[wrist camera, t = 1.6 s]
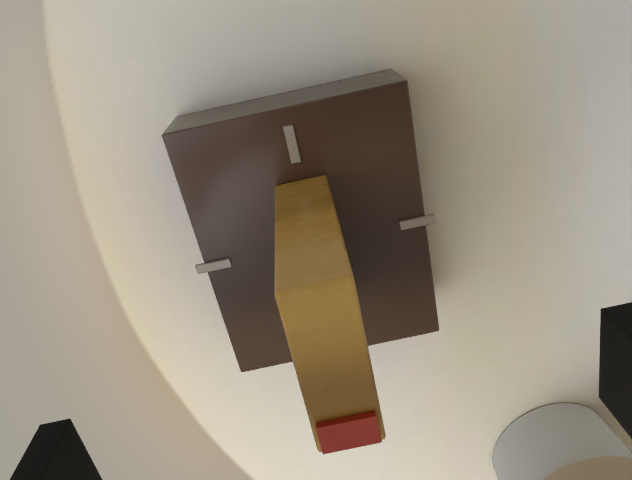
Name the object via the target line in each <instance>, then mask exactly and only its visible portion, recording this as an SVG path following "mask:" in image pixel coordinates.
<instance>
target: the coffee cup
mask: <svg viewBox="0 0 632 480" xmlns="http://www.w3.org/2000/svg"><path fill="white" fill-rule="evenodd" d="M493 466H494V469H495V472H496V475H497V477H498V480H632V451H631V450H630V449H629V448H628V447H627V446H626V445H625V444H624V442H623V441H622V440H621V439H620V438H619V437H618V436H617V435H616V433H615V432H614V431H613V430H612V429H611V428H610V427H609V426H608V425H607V423H606V422H605V421H604V420H603V419H602V418H601V417H600V416H599V415H598V414H597V413H596V412H595V411H593V410H592V409H590V408H588V407H586V406H583V405H579V404H573V403H558V404H551V405H547V406H543V407H540V408H537V409H535V410H532V411H530V412H528V413H526V414H524V415H523V416H521V417H520V418H518V419H517V420H515V421H514V422H513V423H512V424H511V425H510V426H509V427H508V428H507V429H506V430H505V431H504V432H503V433H502V435H501V436H500V438H499V439H498V441H497V443H496V445H495V448H494V452H493Z"/></svg>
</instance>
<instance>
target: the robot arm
mask: <svg viewBox="0 0 632 480" xmlns="http://www.w3.org/2000/svg"><path fill="white" fill-rule="evenodd" d="M599 398H600V399H601V400H602V402H603V403H604V404H605V405H606V407H607V408H608V409H609V411H610V412H611V413H612V414H613V416H614V417H615V418H616V419H617V421H618V422H619V423H620V424H621V426H622V427H623V428H624V429H625V431H626V432H627V433H628V435H629V436H630V437H631V438H632V302H631V303H627V304H622V305H617V306H612V307H607V308H602V309H601V325H600V368H599ZM10 480H102V478H101V476H100V475H99V473H98V471H97V469H96V467H95V465H94V463H93V461H92V459H91V457H90V455H89V454H88V452H87V450H86V448H85V446H84V444H83V442H82V440H81V438H80V436H79V435H78V433H77V431H76V429H75V427H74V425H73V423H72V421H71V419H66V420H61V421H57V422H52V423H47V424H42V425H40V426H39V428H38V430H37V432H36V433H35V435H34V437H33V439H32V441H31V443H30V444H29V446H28V448H27V450H26V451H25V453H24V455H23V457H22V459H21V460H20V462H19V464H18V466H17V468H16V469H15V471H14V473H13V475H12V477H11V479H10Z"/></svg>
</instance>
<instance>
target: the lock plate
mask: <svg viewBox="0 0 632 480" xmlns="http://www.w3.org/2000/svg"><path fill="white" fill-rule="evenodd" d="M162 137H163V140H164V143H165V146H166V149H167V152H168V155H169V158H170V161H171V164H172V167H173V170H174V173H175V176H176V179H177V182H178V185H179V188H180V191H181V194H182V197H183V200H184V203H185V206H186V209H187V212H188V215H189V218H190V221H191V224H192V227H193V230H194V233H195V236H196V239H197V242H198V245H199V248H200V251H201V254H202V257H203V260H204V262H205V263H202V264H197V265H196V266H195V267H196V270H197V273H198V274H200V273H205V272H208V274H209V277H210V280H211V283H212V286H213V289H214V292H215V295H216V298H217V301H218V304H219V307H220V310H221V313H222V316H223V319H224V322H225V325H226V328H227V331H228V334H229V337H230V340H231V343H232V346H233V349H234V352H235V355H236V358H237V361H238V364H239V367H240V370H241V372H245V371H250V370H255V369H259V368H264V367H269V366H274V365H278V364H283V363H288V362H293V359H292V356H291V352H290V349H289V345H288V342H287V338H286V334H285V331H284V327H283V324H282V320H281V316H280V313H279V309H278V306H277V302H276V299H275V295H274V285H275V186H277V185H282V184H286V183H291V182H295V181H300V180H304V179H309V178H314V177H318V176H323V175H325V176H326V177H327V180H328V183H329V187H330V191H331V194H332V198H333V202H334V206H335V209H336V213H337V217H338V220H339V224H340V228H341V232H342V235H343V239H344V243H345V246H346V250H347V254H348V258H349V261H350V265H351V269H352V272H353V276H354V281H355V286H356V290H357V295H358V300H359V305H360V310H361V315H362V320H363V325H364V330H365V335H366V340H367V345H368V346H369V345H374V344H378V343H383V342H388V341H393V340H398V339H402V338H407V337H412V336H417V335H421V334H426V333H431V332H436V331H439V324H438V316H437V309H436V301H435V293H434V285H433V277H432V270H431V262H430V254H429V246H428V238H427V230H426V225H428V224H433V223H435V215H434V214H429V215H424V207H423V199H422V191H421V184H420V176H419V168H418V160H417V152H416V145H415V137H414V129H413V121H412V113H411V106H410V98H409V90H408V82H407V80H406V79H404V78H403V77H401V76H400V75H399V74H397V73H396V72H394V71H393V70H391V69H388V70H383V71H379V72H374V73H370V74H365V75H361V76H356V77H352V78H348V79H343V80H339V81H334V82H330V83H325V84H321V85H316V86H312V87H307V88H303V89H298V90H294V91H289V92H285V93H280V94H276V95H271V96H267V97H262V98H258V99H253V100H249V101H244V102H240V103H235V104H231V105H226V106H222V107H217V108H213V109H208V110H204V111H199V112H195V113H191V114H186V115H182V116H177V117H175V119H174V120H173V121H172V123H171V124H170V125H169V127H168V128H167V129H166V130H165V132H164V133H163V134H162Z"/></svg>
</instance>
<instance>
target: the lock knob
mask: <svg viewBox="0 0 632 480" xmlns="http://www.w3.org/2000/svg"><path fill="white" fill-rule="evenodd" d="M274 295H275V299H276V302H277V306H278V309H279V313H280V316H281V320H282V324H283V327H284V331H285V334H286V338H287V342H288V345H289V349H290V352H291V356H292V359H293V363H294V367H295V370H296V374H297V377H298V381H299V385H300V388H301V392H302V395H303V399H304V403H305V406H306V410H307V413H308V417H309V420H310V424H311V428H312V431H313V435H314V438H315V442H316V446H317V449H318V451H319V452H322V453H323V454H327V453H332V452H337V451H341V450H346V449H351V448H356V447H361V446H366V445H371V444H376V443H380V442H382V440H383V439H385V436H386V435H385V430H384V425H383V420H382V415H381V410H380V405H379V400H378V395H377V390H376V385H375V380H374V375H373V370H372V365H371V360H370V355H369V350H368V345H367V340H366V335H365V330H364V325H363V320H362V315H361V310H360V305H359V300H358V295H357V290H356V286H355V281H354V276H353V272H352V269H351V265H350V261H349V258H348V254H347V250H346V246H345V243H344V239H343V235H342V232H341V228H340V224H339V220H338V217H337V213H336V209H335V206H334V202H333V198H332V194H331V191H330V187H329V183H328V180H327V177H326V176H325V175H323V176H318V177H314V178H309V179H304V180H300V181H295V182H291V183H286V184H282V185H277V186H275V285H274Z"/></svg>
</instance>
